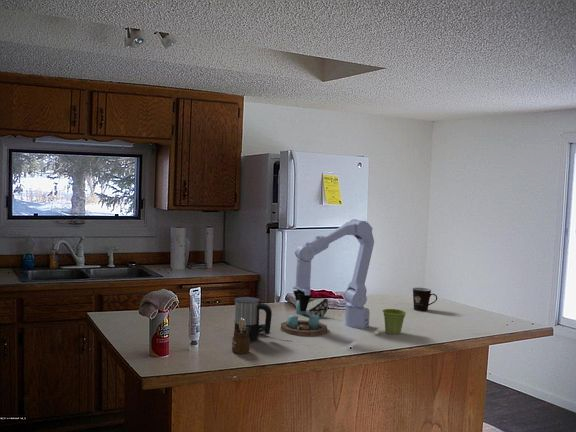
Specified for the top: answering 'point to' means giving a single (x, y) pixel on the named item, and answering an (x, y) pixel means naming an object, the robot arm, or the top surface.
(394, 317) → the plant pot
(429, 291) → the coffee mug
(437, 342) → the top surface
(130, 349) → the top surface
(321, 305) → the food container
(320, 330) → the groove tray
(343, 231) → the robot arm
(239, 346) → the brown bottle
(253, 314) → the milk frother
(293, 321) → the bead
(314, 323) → the seated bead
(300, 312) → the loose bead
